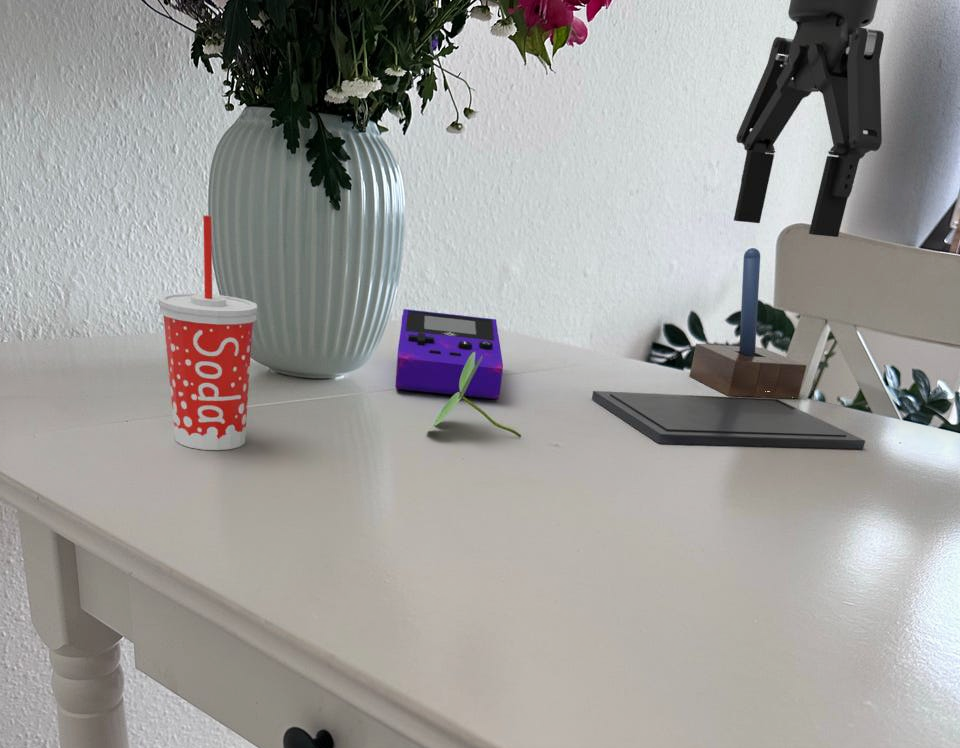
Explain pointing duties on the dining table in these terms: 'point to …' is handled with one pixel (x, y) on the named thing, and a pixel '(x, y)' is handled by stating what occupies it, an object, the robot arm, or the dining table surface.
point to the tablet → (724, 421)
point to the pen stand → (747, 372)
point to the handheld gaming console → (448, 353)
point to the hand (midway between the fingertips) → (782, 228)
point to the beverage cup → (208, 362)
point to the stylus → (749, 302)
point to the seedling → (463, 384)
